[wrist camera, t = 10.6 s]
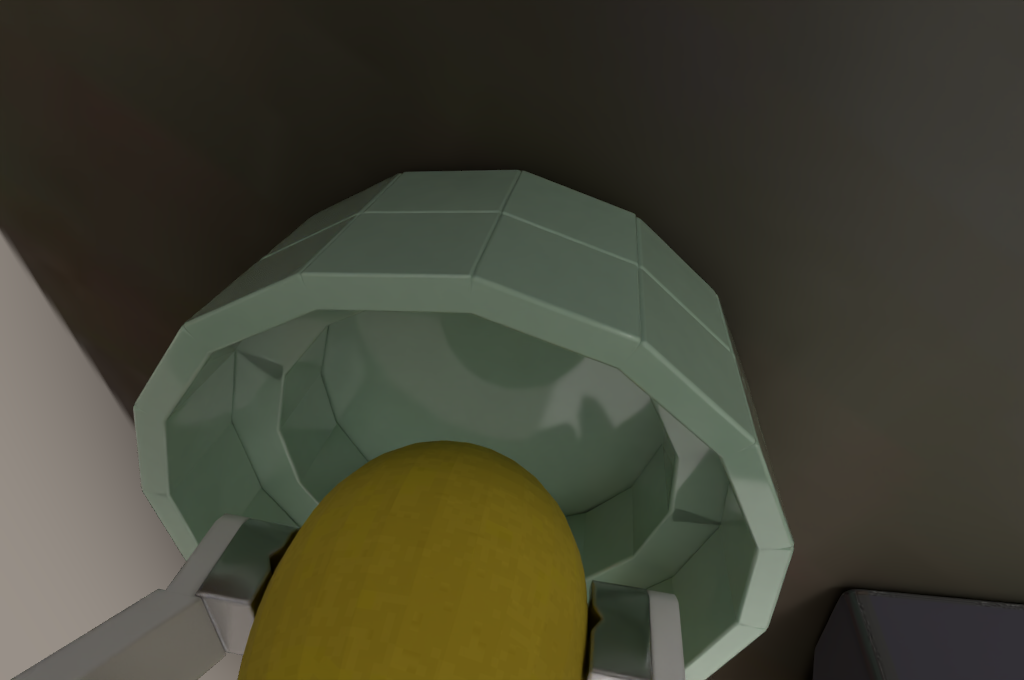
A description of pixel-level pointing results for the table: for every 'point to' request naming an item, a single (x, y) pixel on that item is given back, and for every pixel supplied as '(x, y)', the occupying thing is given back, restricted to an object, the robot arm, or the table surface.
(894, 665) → the calculator
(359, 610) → the lemon
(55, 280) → the table surface
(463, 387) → the bowl
